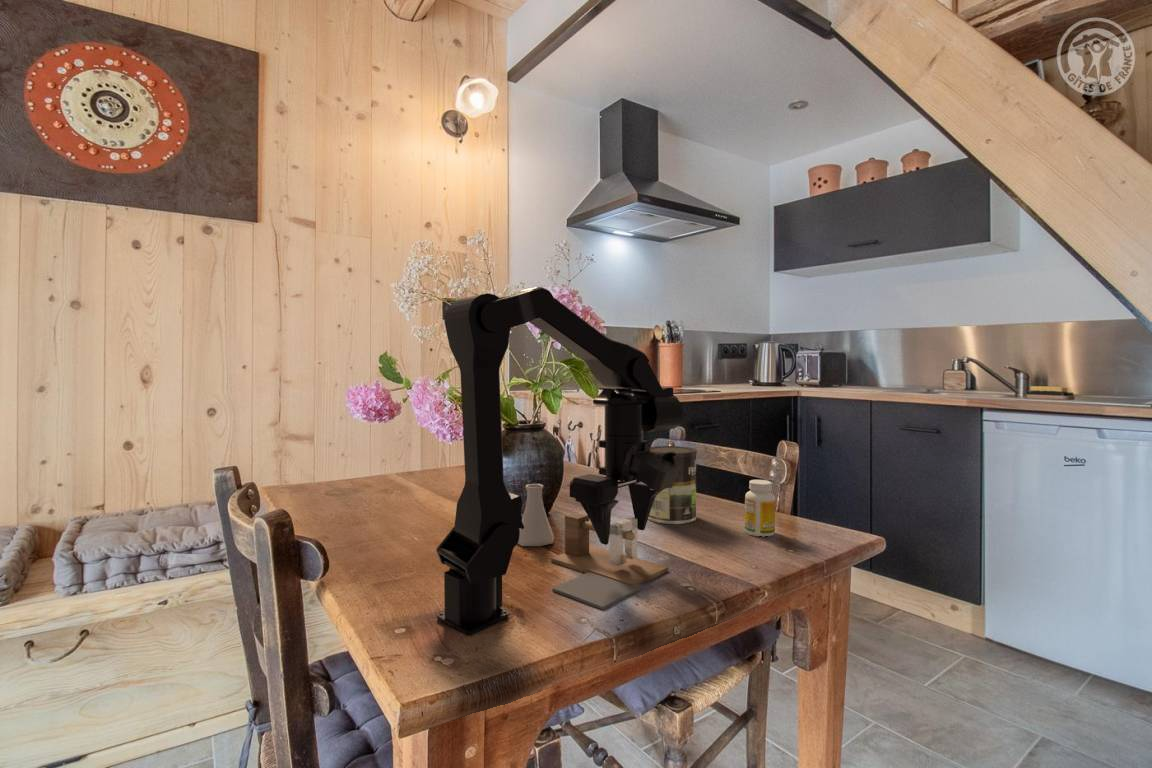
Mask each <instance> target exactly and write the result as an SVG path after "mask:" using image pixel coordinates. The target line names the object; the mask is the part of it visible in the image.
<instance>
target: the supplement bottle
mask: <svg viewBox="0 0 1152 768" xmlns="http://www.w3.org/2000/svg"><path fill="white" fill-rule="evenodd" d="M748 485H749V486H748V489H749V491H747V492H746V493H745V496H744V531H745V533H746V534H747V535H749V536H754V537H759V536H762V538H763V537H764V538H765V536H768V537H772V536H773V535H775V533H776V495H775V494H774V493H772V492H771V491H772V489H773V482H772V481H769V480H767V479H751V480H749V483H748Z"/></svg>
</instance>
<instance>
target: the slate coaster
mask: <svg viewBox="0 0 1152 768" xmlns="http://www.w3.org/2000/svg"><path fill="white" fill-rule="evenodd" d="M551 588H552V589H551V590H552V592H554V593H558V594H560V595H562V596H565V597H568V598H569V599H570V598H571V599H572V600H576V601H578V602H581V603H583V604H586V605H589V606H592V607H593V608H597V609H600V610H603V611H604V610H606V609H608V608H609V607H612V606H613V605H615V604H617V603H618V602H621V601H623V600H625V599H626V598H628V597H630V596H632V595H634V594H635V593H638V592H639V591H641V590H643V589H644V585H643V584H642V585H639V584H636V585H634V586H632V585H629V584H626V583H623V582H619V581H616V580H613V579H610V578H607V577H604V576H601V575H598V574H595V573H592V572H588V573H583V574H581V575H579V576H577V577H574V578H572V579H570V580H568V581H566V582H563V583H561V584H559V585H555V586H553V587H551Z"/></svg>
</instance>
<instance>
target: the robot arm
mask: <svg viewBox="0 0 1152 768" xmlns="http://www.w3.org/2000/svg"><path fill="white" fill-rule="evenodd" d="M443 321H444V327H445V330H446V335H447V341H448V346H449V349H450V350H451V353H452V355H453V357H454V359H455V361H456V364H457V366H458V368H459V373H460V374H459V375H460V388H461V389H460V390H461V391H460V392H461V413H462V415H461V416H462V435H463V457H464V458H463V459H464V479H465V480H464V486H463V488H462V491H461V493H460V495H459V498H458V500H457V502H456V508H455V509H456V510H455V518H454V526H453V527H452V529H451V530H450V531H449V532H448V533H447V535H446V536H445V538H444V539H443V540H442V541H441V542H440V543H439V545H438V546H437V547H436V549H435V550H436V553H437V556H438V559H439V562H440V563H441V564H443V565H445V566H447V567H448V568H449V570H447V571H444V574H443V575H444V576H443V581H444V582H443V587H444V588H443V589H444V592H443V593H444V600H443V601H444V611H442V612H439V613H437V614H436V618H437V620H439V621H440V622H442V623H444V624H446V625H448V626H450V627H452V628H454V629H455V630H457V631H460V632H461V633H463V634H465V635H471V634H473V633H475V632H478V631H480V630H482V629H485V628H487V627H489V626H491V625H494V624H496V623H498V622H500V621H502V620H505V619H507V618H509V614H510V613H509V611H508V610H505V609H503V608H502V607H503V576H505V575H507V572H508V568H509V566H510V565H509V564H510V562H511V558H512V554H513V552H514V548H515V547H518V545H519V544H518V542H519V537H520V528H521V529H524V525H523V523H522V508H523V500H522V496H520V495H518V494H516V493H512V492H509V490H508V488H507V487H506V484H505V478H504V477H505V476H504V475H505V474H504V451H503V429H502V407H501V406H502V405H501V404H502V403H501V401H502V400H501V381H500V377H501V376H500V375H501V374H500V370H501V369H500V368H501V364H502V362H503V359H505V355H506V352H507V350H508V347H509V344H510V334H511V328H514V327H518V326H521V325H524V324H527V323H529V324H531V325H532V326H534V327H535V328H536V329H538V330H540V331H541V332H543V333H544V334H545V335H547V336H548V337H550V338H551V339H553V340H554V341H555V342H557V343H558V344H560V345H561V346H563V347H564V348H565V349H567V350H568V351H569V352H571V353H572V354H574V355H576V356H577V357H579V358H580V359H582V360H583V362H585V364H586V365H587V366H588V369H589V372H590V374H591V375H592V376H593V377H594V378H595V379H597V381H598V382H599V383H600V384H601V385H602V386H603V387H605V388H603V389H602V391H601V392H600V393H599V394H598V395H597V396H596V397H595V398H594V399H593V401H592V403H593V404H594V405H600V406H604V439H601V440H598V448H603V449H604V466H600V467H598V475H597V474H591V473H588V474H584V475H579V476H575V477H573V478H572V479H571V481H570V482H569V486H568V487H569V488H568V489H569V495H568V496H569V498H574V499H575V502H577V503H580V505H581V507H582V508H583V509H584V512H585V514H586V515H588V517H589V522H591V523H592V525H593V527H594V529H595V531H594V532H595V534H596V536H597V537H598V540H599V543H601V544H602V545H608V544H609V543H610V524H611V517H612V510H613V509H614V508H615V506H616V505H617V504H618V503H619V500H618V499H616V498H617V496H618V493H619V488H620V489H621V488H623V487H624V488H625V487H628V491H629V497H630V500H631V501H630V502H631V504H632V511H633V518H637V531H638V530H639V531H644V530H646V526H647V523H648V521H649V519H648V517H649V514H650V511H651V508H652V505H653V502H654V500H655V497H656V496H657V495H658V494H659V493H660V492H661V491H662V490H664V489H666V488H672V487H673V484H674V481H675V478H676V477H677V476H680V475H681V474H682V471H681V470H680V469H681V459H680V455H679V454H677V453H675V452H673V451H672V452H667V453H665V454H664V455H663V456H662V455H660V454H658V455H655V454H653V453H651V452H650V447H651V444H650V442H649V440H646V439H645V440H644V432H646V433H647V432H656V431H665V430H666V431H667V430H672V429H673V430H674V429H676V428H677V427H679V425H681V423H682V421H683V418H684V408H683V407H682V403H681V401H680V399H679V398H678V397H677V396H676V395H674V388H673V387H670V386H669V387H668V386H667V387H666V386H665V387H664V386H661V383H660V382H659V379H658V378H657V376H656V374H655V373H654V370H653V369H652V366H651V364H650V358H649V357H648V355H646V354H645V352H643V351H642V350H640V349H637V348H636V347H633V346H632V345H629V344H626V343H623V342H619V341H616V340H613V339H610V338H609V337H607V336H606V335H605V334H603V333H602V332H601V331H599V330H598V329H596V327H594V326H592V325H591V324H590V323H588V322H587V321H586V320H585V319H583V318H582V317H581V316H579V315H578V314H577V313H575V312H574V311H573V310H572V309H570V308H569V307H567V306H566V305H565V304H563V303H562V302H561V301H560V300H558V299H556V297H554V296H553V294H552V292H551V291H550V290H548V289H546V288H544V287H542V286H535V287H532V288H531V287H530V288H526V289H522V290H520V291H518V292H516V293H513V294H509V295H504V296H501V297H499V296H497V295H496V294H494V293H493V294H492V293H483V294H482V293H481V294H476V295H472V296H468V297H467V296H466V297H462V298H459V299H456V300H454V301H453V302H452V303H451V304H450V305H449V306H448V307H447V308H446V310H445V313H444V320H443ZM661 456H662V457H661Z"/></svg>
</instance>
